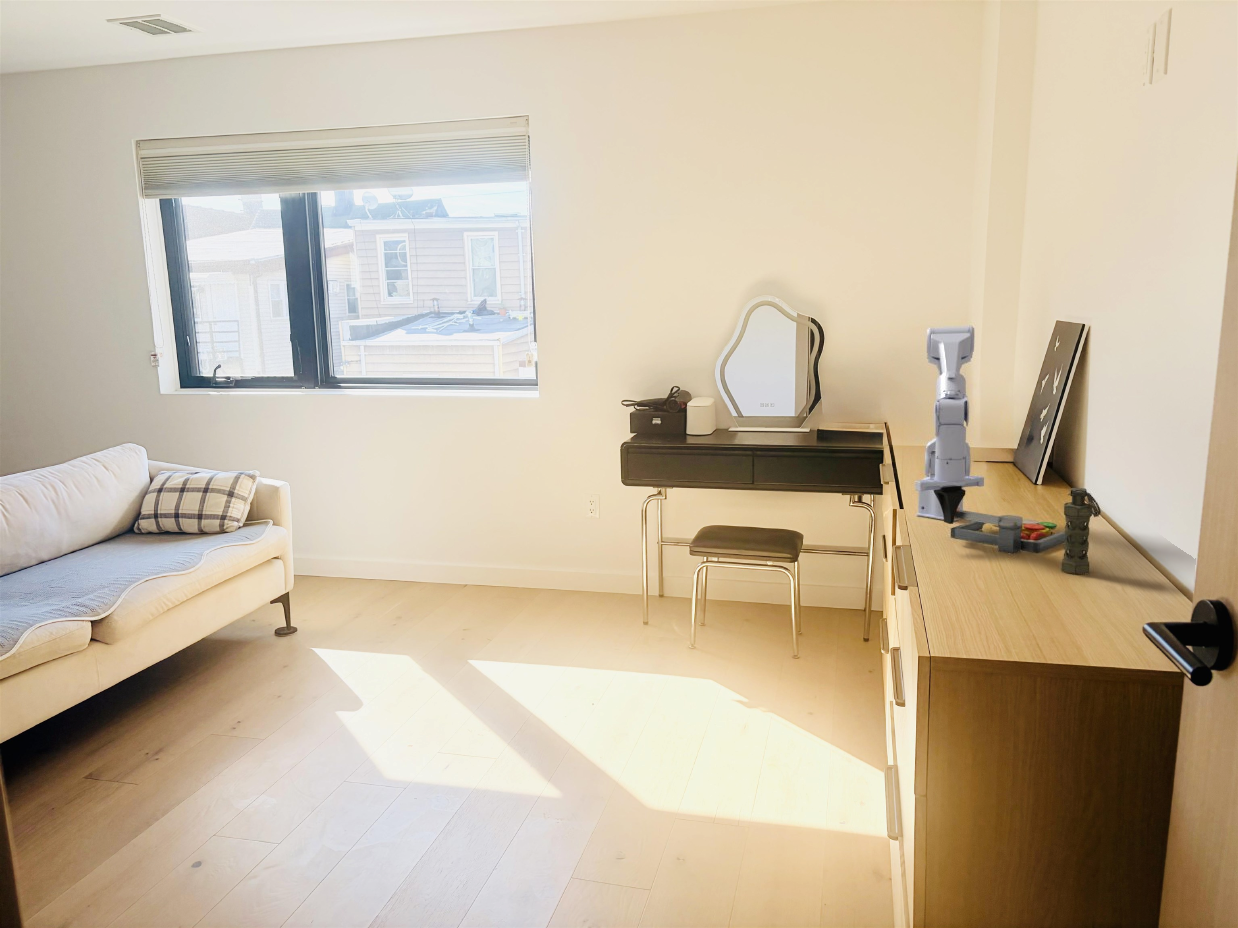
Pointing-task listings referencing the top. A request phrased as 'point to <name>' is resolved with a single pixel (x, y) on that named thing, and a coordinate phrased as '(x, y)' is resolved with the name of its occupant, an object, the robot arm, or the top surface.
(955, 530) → the tray
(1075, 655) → the top surface
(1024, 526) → the toy food set
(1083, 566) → the grenade
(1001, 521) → the press arm
